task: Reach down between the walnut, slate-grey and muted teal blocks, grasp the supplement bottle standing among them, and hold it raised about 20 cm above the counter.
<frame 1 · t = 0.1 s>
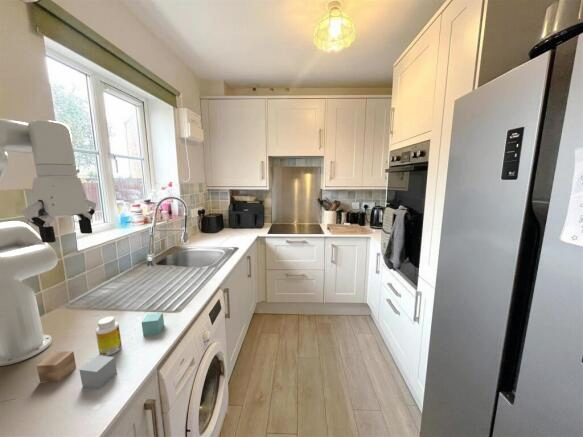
hand: (69, 237, 64), 37 cm above the counter, tool pointing down, fingers open, 9 cm apart
teal block: (154, 330, 84), on the counter
supplement bottle: (111, 351, 74), on the counter
slate block: (100, 380, 63), on the counter
walnut block: (58, 374, 65), on the counter
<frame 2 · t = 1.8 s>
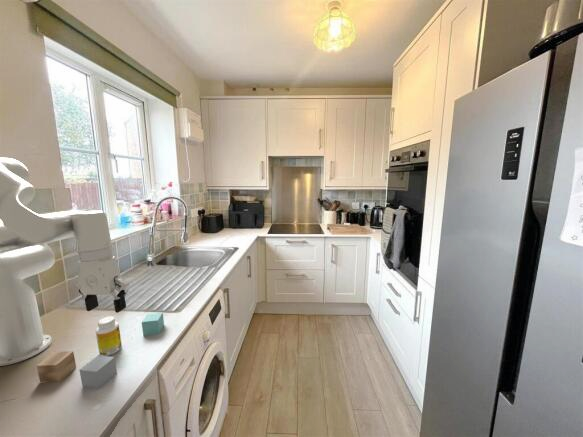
hand: (106, 309, 71), 14 cm above the counter, tool pointing down, fingers open, 9 cm apart
nothing on the counter moved.
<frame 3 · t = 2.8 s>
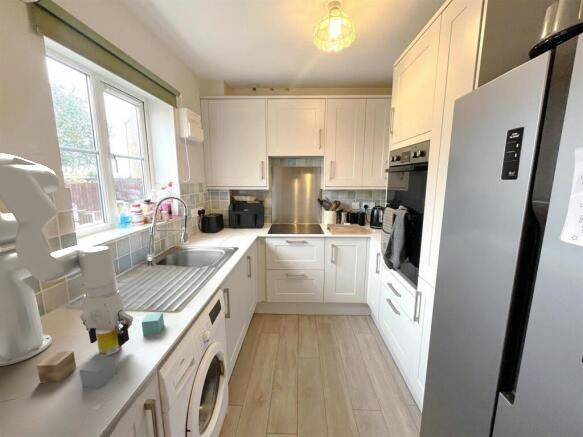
hand: (110, 341, 73), 3 cm above the counter, tool pointing down, fingers open, 9 cm apart
nothing on the counter moved.
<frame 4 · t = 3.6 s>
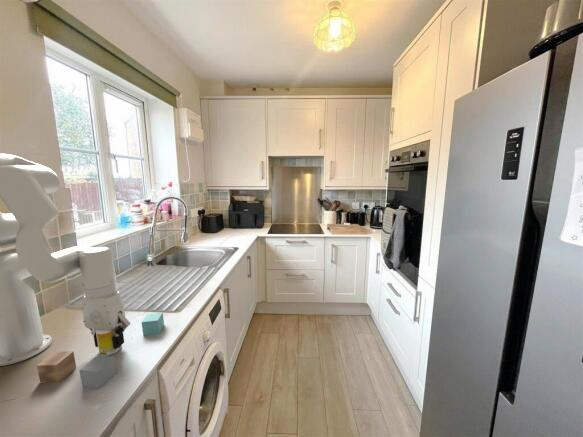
hand: (110, 344, 73), 2 cm above the counter, tool pointing down, fingers closed on supplement bottle, 5 cm apart
supplement bottle: (111, 351, 74), on the counter, touching gripper
everything else where it was.
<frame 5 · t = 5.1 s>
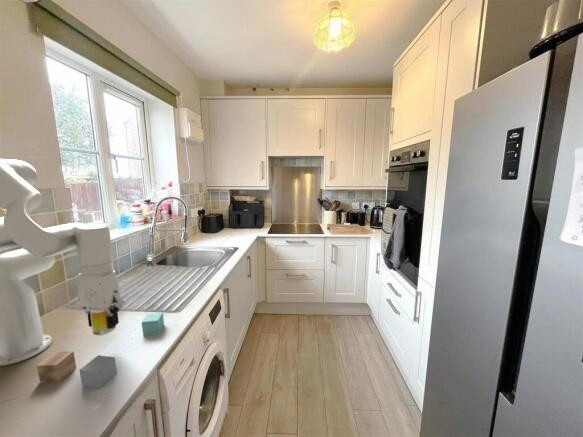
hand: (104, 324, 72), 9 cm above the counter, tool pointing down, fingers closed on supplement bottle, 5 cm apart
supplement bottle: (104, 331, 73), point 6 cm above the counter, touching gripper
everything else where it was.
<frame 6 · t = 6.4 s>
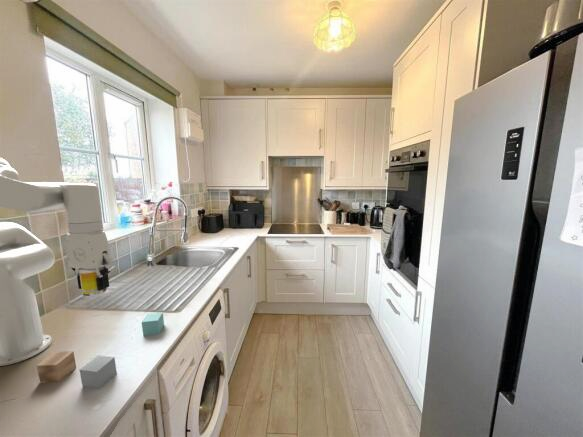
hand: (94, 287, 71), 21 cm above the counter, tool pointing down, fingers closed on supplement bottle, 5 cm apart
supplement bottle: (95, 294, 71), point 18 cm above the counter, touching gripper
everything else where it was.
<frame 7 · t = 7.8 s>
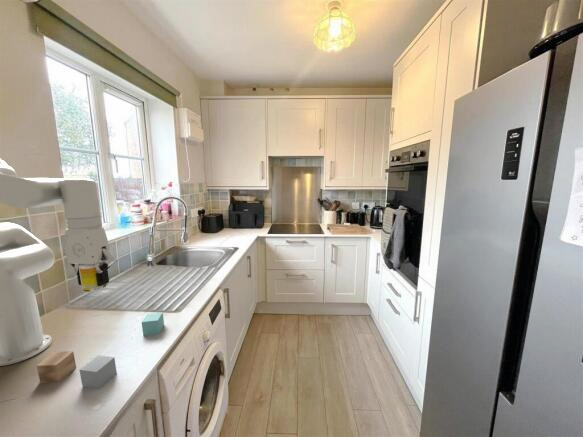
hand: (94, 283, 70), 22 cm above the counter, tool pointing down, fingers closed on supplement bottle, 5 cm apart
supplement bottle: (95, 290, 71), point 20 cm above the counter, touching gripper
everything else where it was.
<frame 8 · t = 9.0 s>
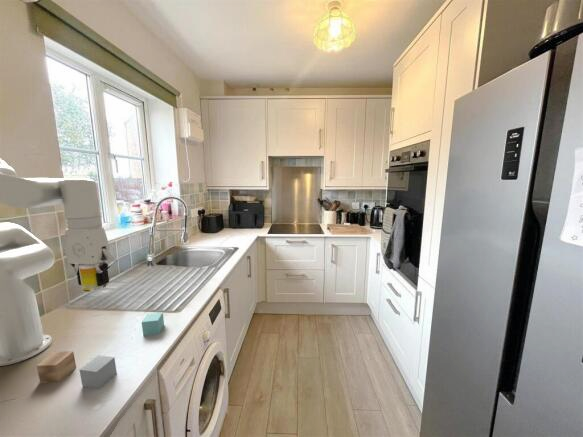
hand: (94, 283, 70), 22 cm above the counter, tool pointing down, fingers closed on supplement bottle, 5 cm apart
supplement bottle: (95, 290, 71), point 20 cm above the counter, touching gripper
everything else where it was.
at the end: the gripper is holding supplement bottle; supplement bottle point 19.6 cm above the counter; slate block moved 0.1 cm from its start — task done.
